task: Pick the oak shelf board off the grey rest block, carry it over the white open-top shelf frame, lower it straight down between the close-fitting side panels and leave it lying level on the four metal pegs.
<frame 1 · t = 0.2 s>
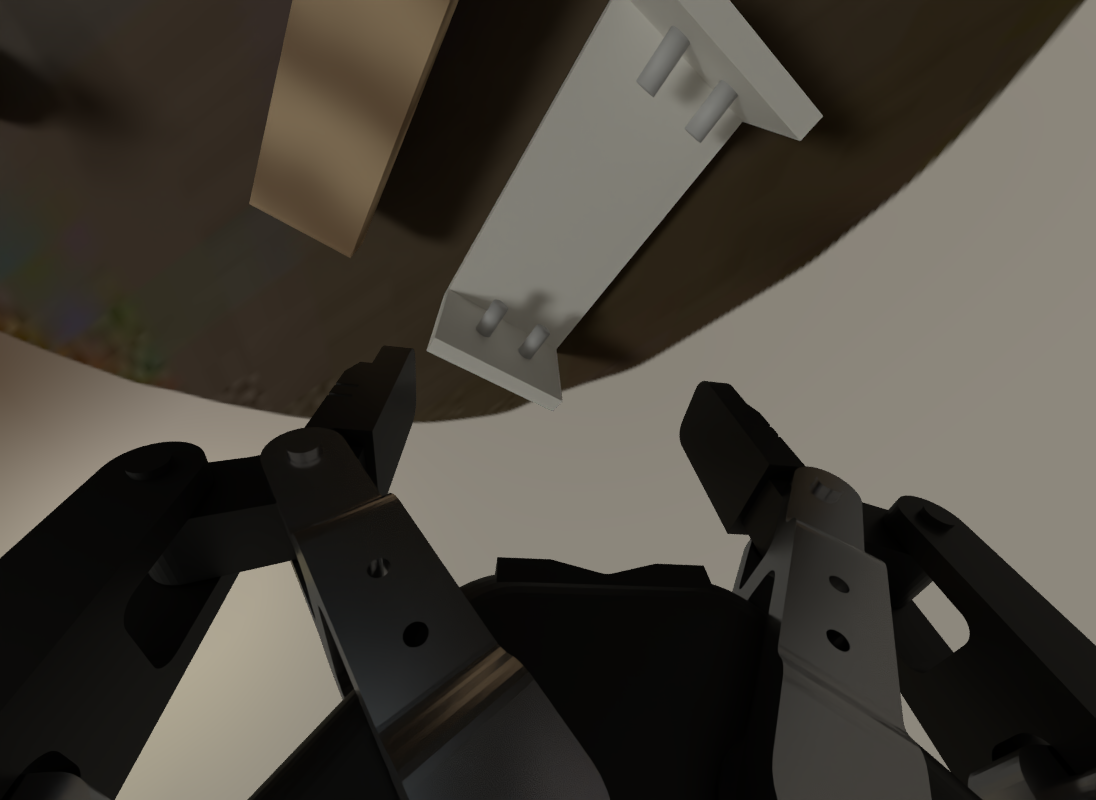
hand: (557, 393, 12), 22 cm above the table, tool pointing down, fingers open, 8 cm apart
shelf frame: (577, 209, 29), on the table
shelf board: (367, 65, 21), point 3 cm above the table, touching rest block
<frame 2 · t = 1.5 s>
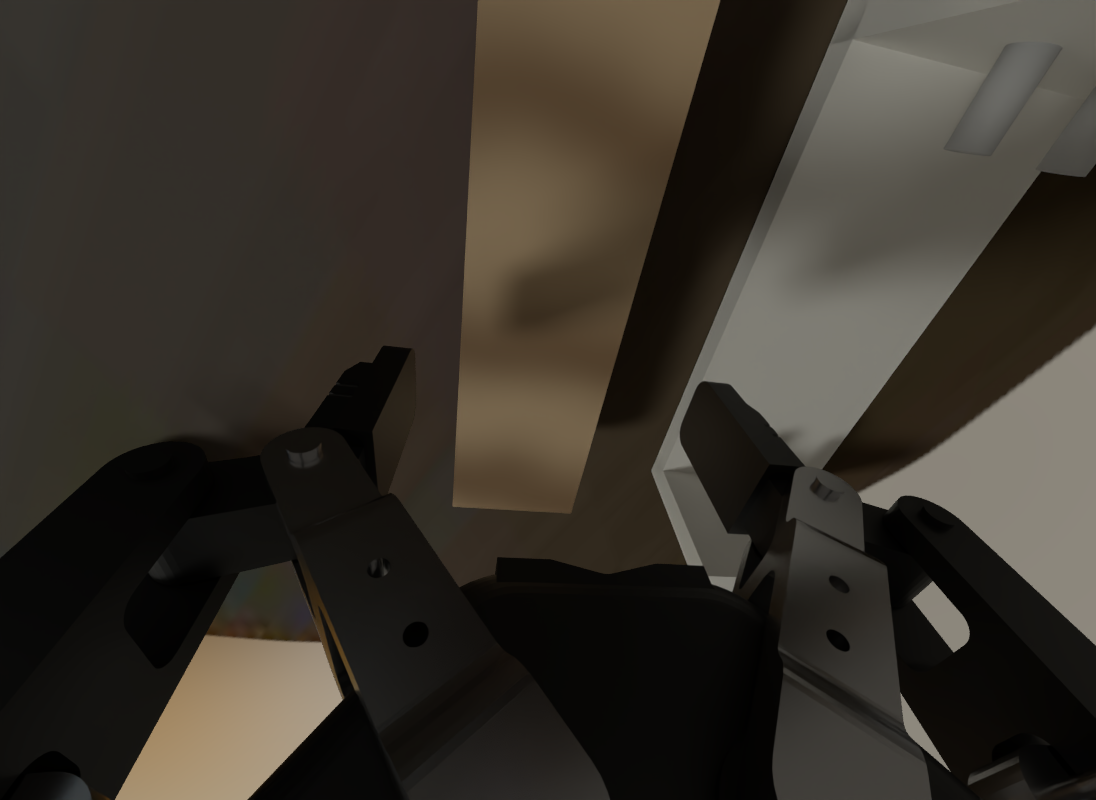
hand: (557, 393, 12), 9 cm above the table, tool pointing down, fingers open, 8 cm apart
shelf frame: (811, 320, 21), on the table
shelf board: (539, 306, 16), point 3 cm above the table, touching rest block
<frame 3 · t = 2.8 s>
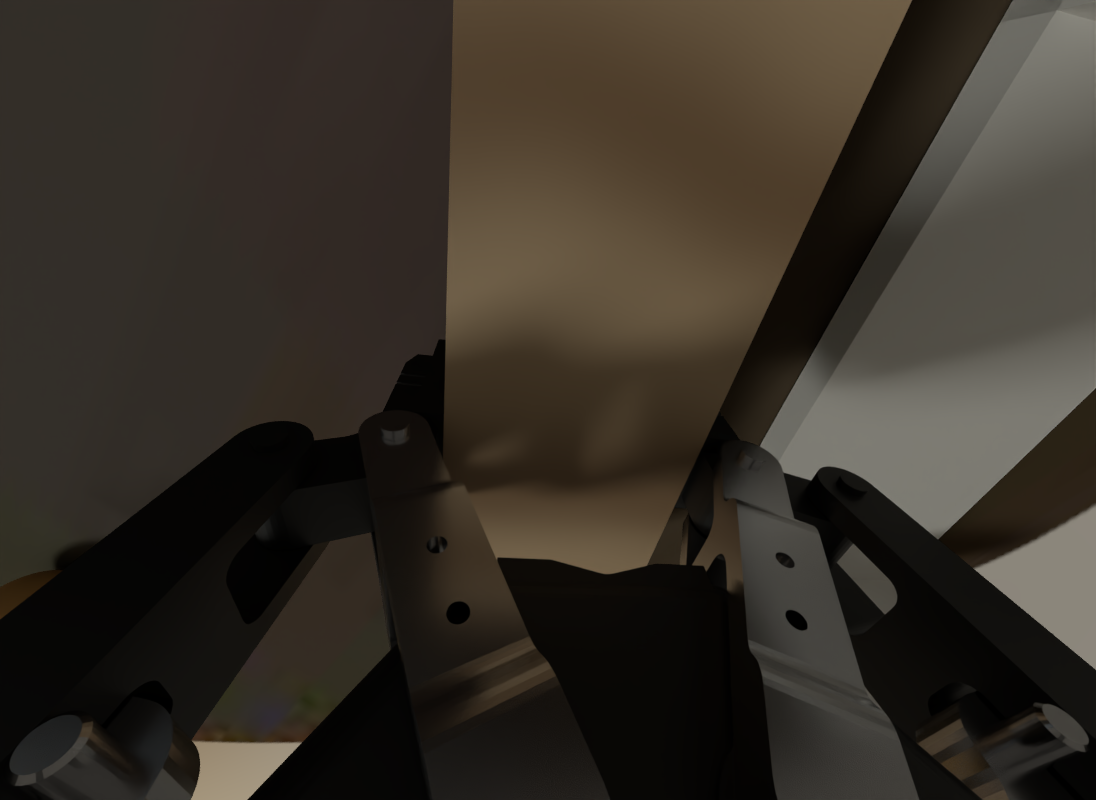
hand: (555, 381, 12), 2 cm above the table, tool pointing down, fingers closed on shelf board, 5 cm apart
figurine: (66, 577, 18), on the table
shelf frame: (915, 394, 15), on the table
shelf board: (560, 404, 11), point 3 cm above the table, touching gripper, rest block
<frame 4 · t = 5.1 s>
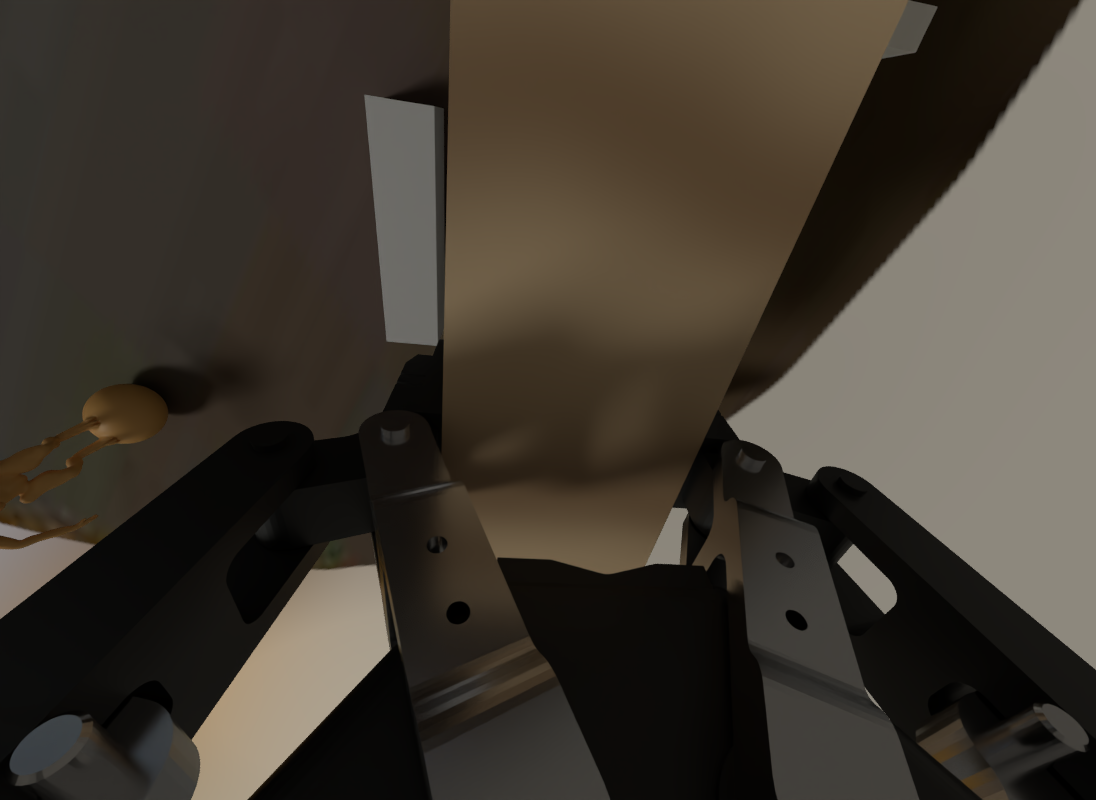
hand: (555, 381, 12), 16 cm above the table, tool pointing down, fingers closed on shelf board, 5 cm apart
figurine: (138, 398, 29), on the table
shelf frame: (646, 257, 26), on the table
rest block: (418, 228, 24), on the table
shelf board: (558, 405, 11), point 17 cm above the table, touching gripper
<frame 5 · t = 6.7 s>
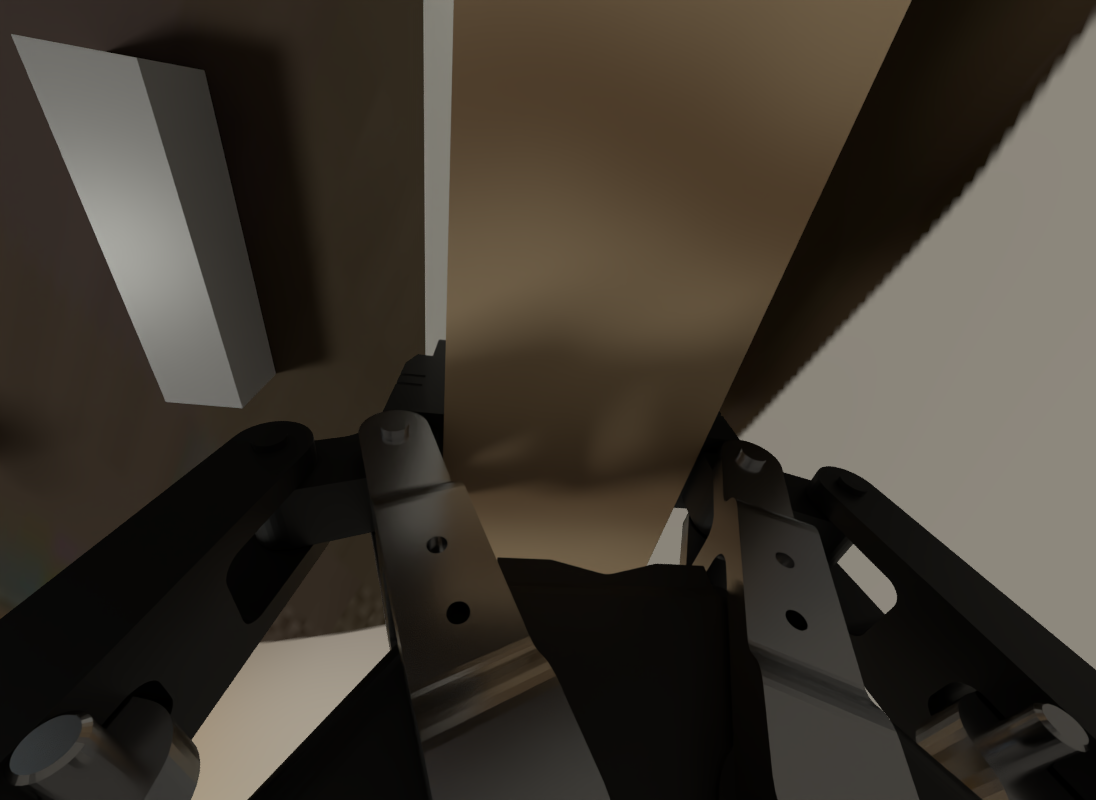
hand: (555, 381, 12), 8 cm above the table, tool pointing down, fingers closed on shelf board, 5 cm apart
shelf frame: (540, 290, 19), on the table
rest block: (207, 245, 17), on the table
shelf board: (559, 406, 11), point 9 cm above the table, touching gripper
when the fingers open (5 cm above the table, at t = 7.9 s): shelf board stays where it is, resting on shelf frame.
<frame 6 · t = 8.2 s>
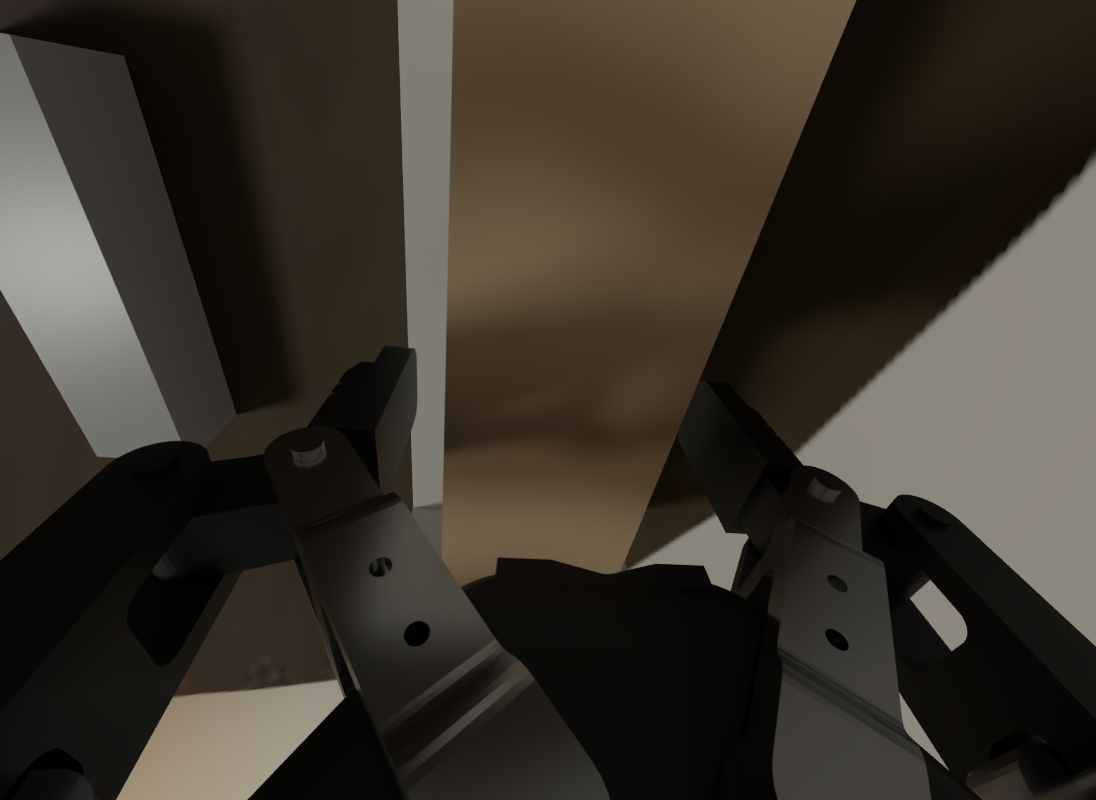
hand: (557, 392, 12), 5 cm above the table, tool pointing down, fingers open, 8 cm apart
shelf frame: (546, 319, 16), on the table
rest block: (144, 270, 14), on the table
shelf board: (553, 386, 12), point 5 cm above the table, touching shelf frame
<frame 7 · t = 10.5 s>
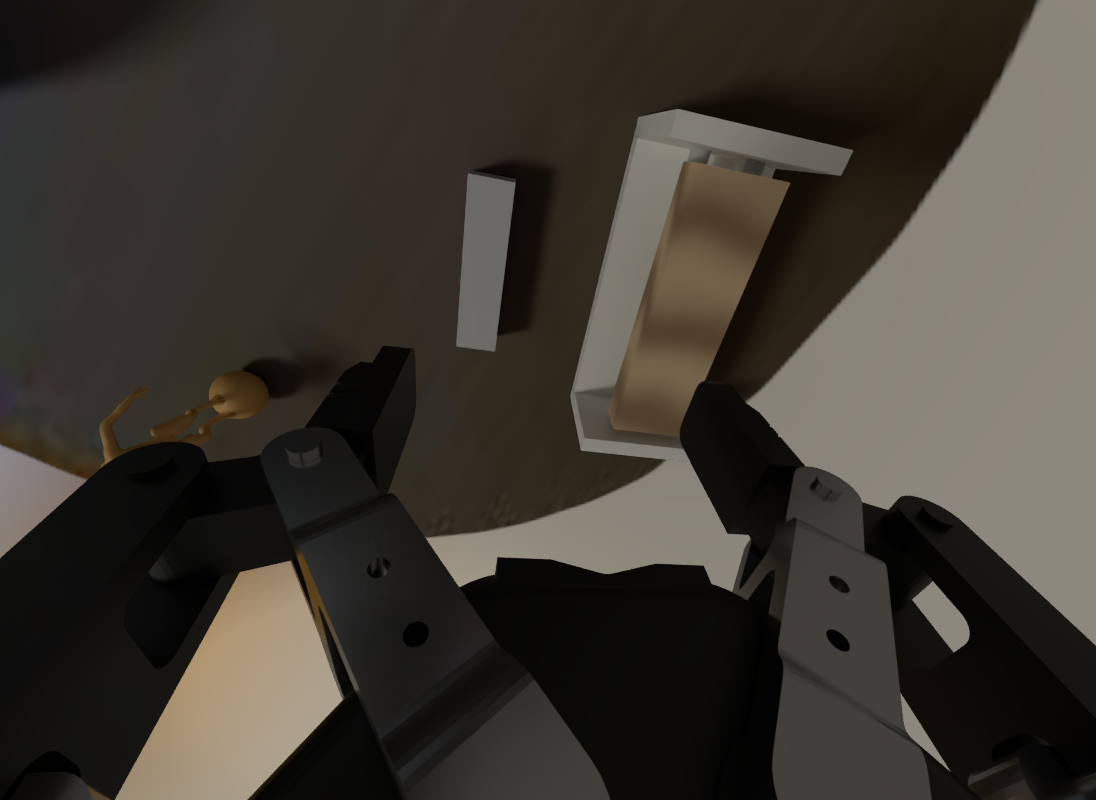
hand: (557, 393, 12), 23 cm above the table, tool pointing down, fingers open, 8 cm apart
figurine: (243, 383, 36), on the table
shelf frame: (657, 290, 34), on the table
rest block: (486, 262, 32), on the table
shelf board: (676, 312, 29), point 5 cm above the table, touching shelf frame
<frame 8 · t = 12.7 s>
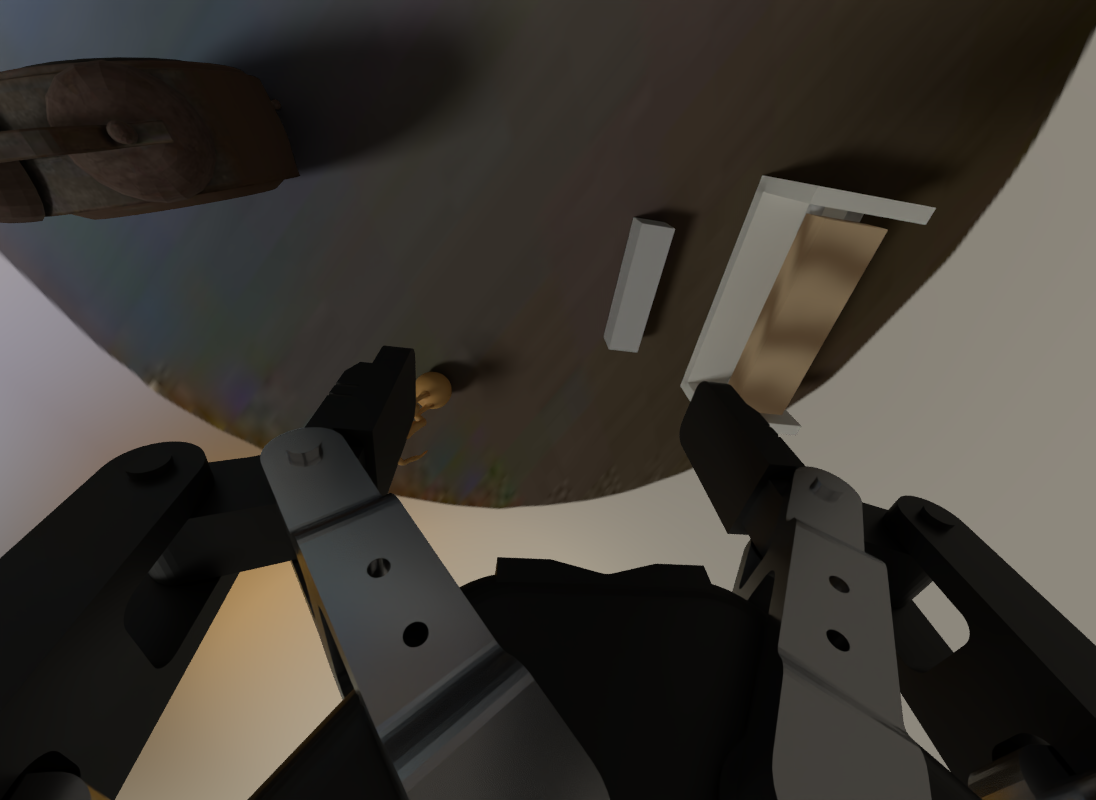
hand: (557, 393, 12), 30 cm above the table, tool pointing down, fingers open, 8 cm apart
figurine: (427, 381, 46), on the table
shelf frame: (759, 301, 43), on the table
rest block: (631, 283, 41), on the table
alarm clock: (231, 136, 32), on the table
shelf board: (785, 320, 39), point 5 cm above the table, touching shelf frame
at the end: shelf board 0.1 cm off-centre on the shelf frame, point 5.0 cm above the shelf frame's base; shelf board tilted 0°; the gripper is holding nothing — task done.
